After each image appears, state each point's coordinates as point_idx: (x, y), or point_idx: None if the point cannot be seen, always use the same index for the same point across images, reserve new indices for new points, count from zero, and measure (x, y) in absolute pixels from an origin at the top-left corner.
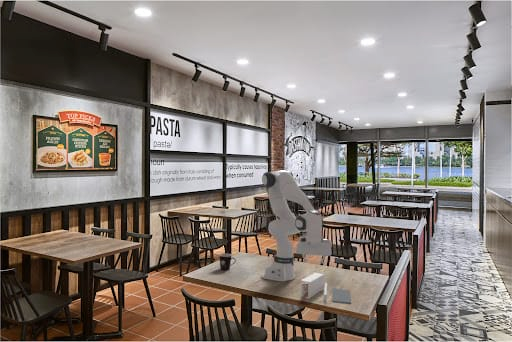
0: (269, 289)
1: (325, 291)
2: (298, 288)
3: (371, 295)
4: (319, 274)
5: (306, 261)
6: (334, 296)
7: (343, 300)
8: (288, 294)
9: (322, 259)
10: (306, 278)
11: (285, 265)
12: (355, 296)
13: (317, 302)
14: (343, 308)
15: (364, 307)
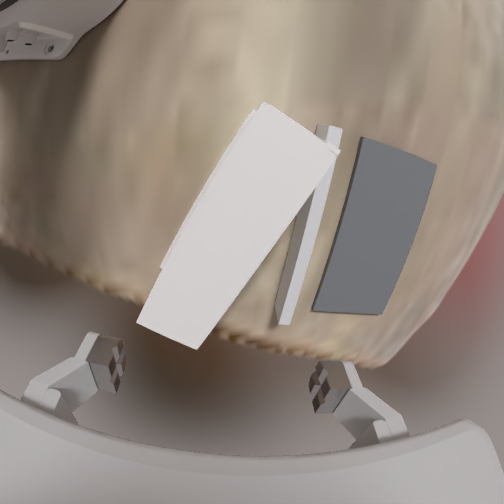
0: (19, 199)
1: (296, 284)
2: (142, 143)
3: (480, 214)
4: (296, 160)
5: (123, 369)
6: (338, 261)
7: (361, 299)
8: (100, 248)
9: (340, 422)
10: (169, 286)
11: (22, 8)
12: (430, 231)
13: (241, 321)
14: (333, 351)
15: (405, 328)
